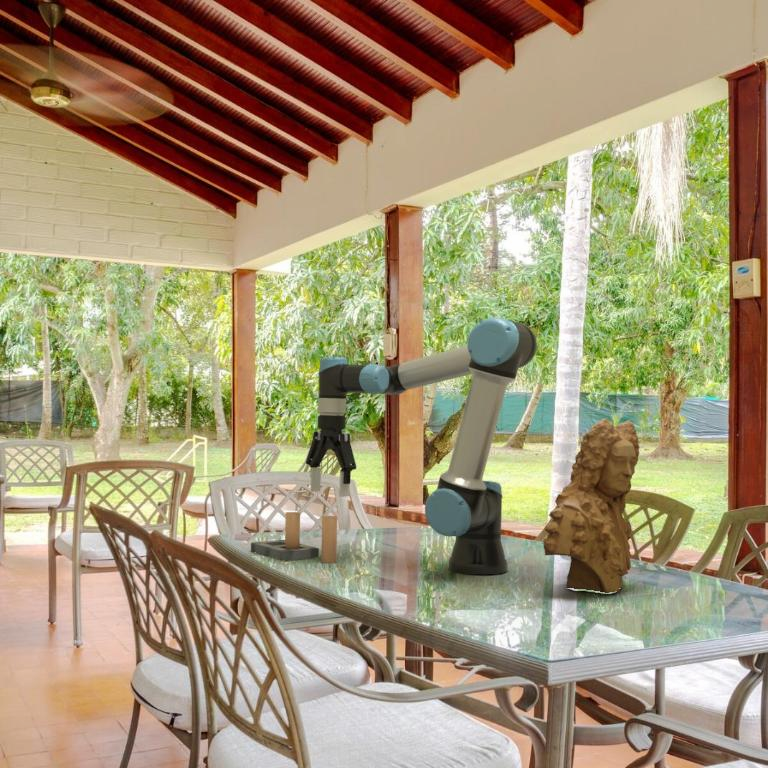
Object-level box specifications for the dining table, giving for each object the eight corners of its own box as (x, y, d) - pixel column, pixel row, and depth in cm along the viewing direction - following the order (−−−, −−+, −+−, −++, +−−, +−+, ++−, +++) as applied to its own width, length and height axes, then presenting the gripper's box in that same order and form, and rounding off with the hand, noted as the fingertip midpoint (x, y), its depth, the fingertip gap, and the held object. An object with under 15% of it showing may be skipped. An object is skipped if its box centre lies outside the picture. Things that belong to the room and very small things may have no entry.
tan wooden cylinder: (302, 557, 237) (303, 513, 237) (289, 558, 235) (290, 514, 235) (294, 555, 240) (295, 511, 241) (281, 556, 238) (282, 512, 238)
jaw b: (339, 562, 230) (340, 517, 230) (326, 563, 228) (327, 518, 228) (330, 560, 233) (331, 515, 234) (318, 561, 231) (319, 516, 231)
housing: (318, 557, 237) (318, 548, 237) (284, 561, 230) (284, 551, 230) (284, 548, 251) (284, 539, 251) (250, 551, 244) (251, 542, 244)
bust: (610, 607, 183) (613, 418, 184) (532, 596, 192) (535, 416, 193) (652, 581, 212) (653, 418, 213) (582, 573, 221) (584, 417, 223)
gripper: (371, 416, 224) (368, 498, 224) (317, 413, 244) (315, 488, 243) (347, 415, 220) (345, 499, 219) (295, 413, 239) (292, 489, 239)
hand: (329, 494), depth 231 cm, fingers open, 13 cm apart
